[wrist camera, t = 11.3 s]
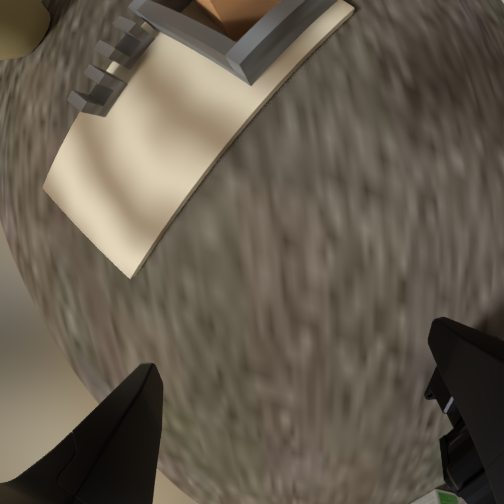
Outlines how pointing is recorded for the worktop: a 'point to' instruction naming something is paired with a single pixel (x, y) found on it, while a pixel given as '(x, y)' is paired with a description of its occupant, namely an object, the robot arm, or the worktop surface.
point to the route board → (171, 114)
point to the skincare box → (437, 498)
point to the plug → (235, 14)
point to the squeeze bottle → (21, 27)
